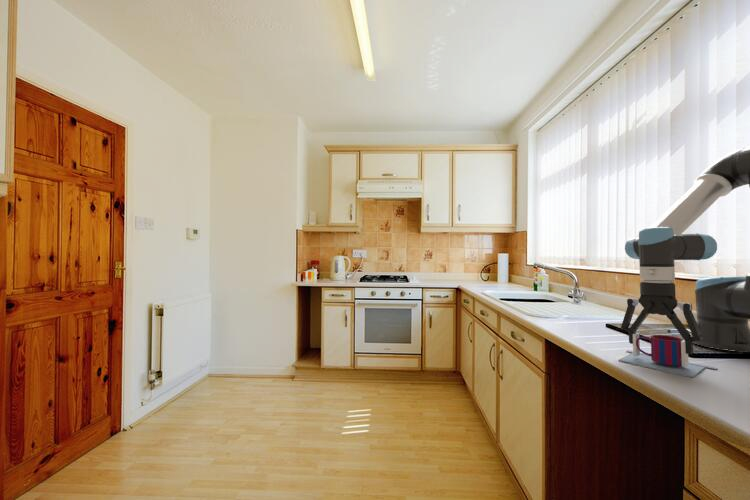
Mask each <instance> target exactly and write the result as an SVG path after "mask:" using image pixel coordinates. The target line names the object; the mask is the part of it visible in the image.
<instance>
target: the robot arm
mask: <svg viewBox="0 0 750 500" xmlns="http://www.w3.org/2000/svg"><path fill="white" fill-rule="evenodd" d="M693 183H694V184H693V186H692V187H691V188H690V189H689V190H688V191H687V192H685V193H684V194H683V196H681V197H680V199H678V200H677V201H676V202H675V203H674V204H673V205H672V206H671V207H670V208H669V209H668V210H667V211H666V212H665V213H664V214H663V215H662V216H661V217H659V218H658V220H657V221H656V222H655V223H653V224H652V225H651V226H650V227H646V228H645V227H644V228H642V229H640V230H639V232H638V236H635V237H631V238H629V239H628V240H627V241H626V242H625V244H624V251H625V254H626V255H627V256H628V257H629V258H630V259H634V260H639V261H638V262H639V279H640V280H641V282H640V283H639V287H640V288H639V292H640V297H639V298H634V297H631V298H627V299H626V304H627V307H626V311H625V313H624V317H623V320H622V323H621V326H620V329H621V330H622V331H626V332H627V333H628V342H629V344H632V351H633V356H636V357H637V356H639V355H640V353H641V351H639V349H638V348H637V345H636V340H637V339H638V338H639V337H640V332H637V330H638V329H639V328H640V326H641V325H642V324H643V323H644V321H645V320H646V318H647V317H648V316H649V315H660V316H665V317H666V318H667V319H668V320H669V321H670V322H671V324H672V325H673V326H674V327H675V329H676V330H677V332H678V333H679V335H680V336H681V338H682V339H683V341H681V358H682V366H685V367H686V366H687V365H689V355H692V354H693V353H694V345H695V344H697V345H696V346H698V345H701V346H706V347H713V348H719V349H728V350H735V351H747V352H750V326H749V320H750V272H749V273H747V274H745V276H721V277H720V276H719V277H718V276H717V277H702V278H699V279H697V280H696V282H695V289H694V292H695V305H696V306H695V307H696V318H695V316H694V314H693V304H692V303H691V302H680V301H678V300H677V298H676V283H674V281H675V280H676V271H675V261H701V260H708V259H711V258H712V257H714V256H715V255H716V253H717V251H718V243H717V240H716V239H715V238H714V237H713V236H711V235H710V234H706V233H705V234H704V233H684V232H685V231H686V230H687V229H688V228H689V227H691V226H692V225H693V223H695V221H697V220H698V219H699V218H700V217H701V216H702V215H703V214H704V213H705V212H706V211H707V210H708V209H710V207H711V206H712V205H713V204H714V203H715V202H716V201H717V200H718V199H719V198H721V197H725V196H727V195H728V194H730V193H731V192H732V191H733V190H735V189H737V188H740V187H742V186H747V185H748V187H749V188H750V146H747V147H743V148H740V149H737V150H735V151H731V152H729V153H727V154H726V155H724V156H723V157H721V158H719V159H718V160H717V161H715V162H714V163H712V164H711V165H710V166H708V167H707V168H706V169H704V171H702V173H700V174H699V175H698V176H697V177H696V178H695V179H694V181H693ZM638 304H640V305H641V307H642V308H643V309H642V310H641V311H640V313H639V314H638V316H637V318H635V320H634V321H633V322H632V319H633V315H634V313H635V310H636V306H638ZM677 307H679V310H681V311H682V313H683V316H684V319H685V321H686V324H687V326H688V328H689V330H690V332H689V331H688V329H687V328H686V327H685V325H684V324H683V322H682V321H681V319H679V317H678V315H677V312H675V309H676V308H677ZM631 322H632V324H631ZM630 324H631V325H630ZM640 340H641V339H639V341H638V345H639V348H640V346H641V345H640V342H641V341H640ZM693 343H694V344H693ZM701 346H700V347H701ZM640 349H641V348H640Z"/></svg>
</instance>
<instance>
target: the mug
mask: <svg viewBox="0 0 750 500" xmlns="http://www.w3.org/2000/svg"><path fill="white" fill-rule="evenodd" d="M641 339H645V340H648V341H649V342H650V352H646V351H644V350H643V349H641V348H639V345H638V341H639V340H641ZM683 340H684V339H683V338H682V337H677V336H671V335H665V334H664V335H663V334H652V335H650V337H648V336H639V338H638V339H637V340H636V345H637V348H638V349H639V351H640V353H644V354H646V355H648V356H651V358H652V361H654V362H657V363H660V364H664V365H670V366H682V358H681V341H683Z"/></svg>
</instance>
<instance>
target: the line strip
mask: <svg viewBox="0 0 750 500" xmlns="http://www.w3.org/2000/svg"><path fill="white" fill-rule="evenodd" d="M625 353H629V354H631V353H633V350H629V349H628V350H626V352H625ZM640 354H641V355H646V354H644V353H642V352H640ZM646 356H648V355H646ZM688 362H689V361H688ZM689 364H691V365H696V366H701V367H705V369H709V370H715V371H717V370H718V369H719V368H718V367H716V366H709V365H705V364H700V363H694V362H689Z"/></svg>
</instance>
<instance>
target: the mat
mask: <svg viewBox="0 0 750 500" xmlns="http://www.w3.org/2000/svg"><path fill="white" fill-rule="evenodd" d="M617 361H618V362H620V361H621V362H622V363H625V364H630V365H634V366H638V365H639V367H643V366H644V368H647V367H648V369H652V370H656V371H661V372H665V373H670V374H675V375H679V376H683V377H689V378H693V379H694V378H695V377H696V376H697V375H699V374H700V373H701V372H703V371H704V370H705V369H706V368H705V367H701V366H696V365H691V364H689V365H687V366H686V367H685V366H670V365H664V364H660V363H657V362H654V361H652V358H651V356H646V355H641V354H640V355H639V356H637V357H636V356H633V353H629V354H627V355H625V356H623V357H621V358H619V359H618V360H617Z"/></svg>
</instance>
